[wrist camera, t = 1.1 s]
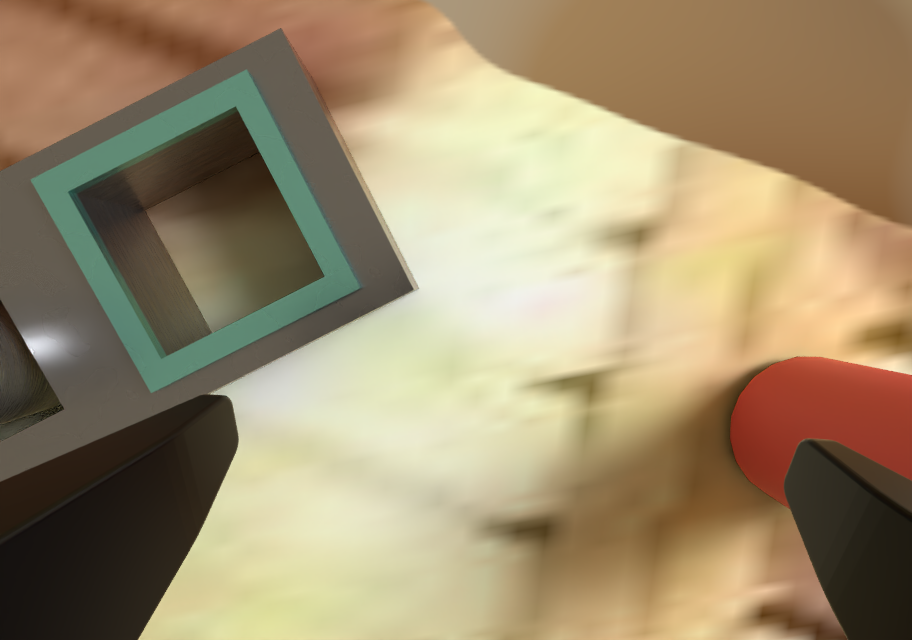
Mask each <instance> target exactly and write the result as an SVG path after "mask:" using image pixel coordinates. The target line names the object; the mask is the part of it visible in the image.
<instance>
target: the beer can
mask: <svg viewBox="0 0 912 640" xmlns="http://www.w3.org/2000/svg"><path fill="white" fill-rule="evenodd" d="M806 438H812V439H827V440H833V441H836V442H839V443H841V444H843V445H844V446H846V447H848V448H850V449H852V450H854V451H856V452H858V453H860V454H862V455H864V456H866V457H868V458H869V459H871V460H873V461H875V462H877V463H879V464H881V465H883V466H885V467H887V468H889V469H891V470H893V471H894V472H896V473H898V474H900V475H902V476H904V477H906V478H908V479H910V480H912V375H908V374H903V373H898V372H893V371H888V370H883V369H878V368H873V367H868V366H863V365H858V364H853V363H848V362H843V361H838V360H833V359H828V358H823V357H794V358H791V359H788V360H785V361H781V362H778V363H775V364H773V365H771V366H770V367H768V368H767V369H765V370H764V371H762V372H761V373H759V374H758V375H756V376H755V377H754V378H753V379H752V380H751V381H750V383H749V384H748V385H747V386H746V388H745V389H744V390H743V391H742V393H741V394H740V395H739V397H738V400H737V403H736V405H735V408H734V411H733V413H732V416H731V428H730V441H731V445H732V448H733V452H734V456H735V459H736V462H737V464H738V465H739V467H740V468H741V470H742V471H743V473H744V474H745V476H746V477H747V479H748V480H749V481H750V482H752V483H753V484H754V485H756V486H757V487H758V488H759V489H761V490H762V491H763V492H765V493H766V494H768V495H769V496H771V497H772V498H774V499H775V500H777V501H778V502H780V503H781V504H783V505H784V506H786V507H788V508H789V509H790V507H789V504H788V502H787V499H786V497H785V493H784V479H785V476H786V473H787V471H788V468H789V466H790V463H791V461H792V458H793V456H794V453H795V450H796V448H797V446H798V444H799V443H800V442H801V441H802V440H804V439H806Z"/></svg>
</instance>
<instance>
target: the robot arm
mask: <svg viewBox="0 0 912 640" xmlns="http://www.w3.org/2000/svg"><path fill="white" fill-rule="evenodd" d="M238 440H239V438H238V431H237V426H236V420H235V415H234V410H233V405H232V402H231V400H230V398H228V397H227V396H224V395H211V394H203V395H199V396H197V397H195V398H193V399H190V400H188V401H186V402H183V403H181V404H179V405H176V406H174V407H172V408H169V409H167V410H165V411H162V412H160V413H158V414H156V415H153V416H151V417H149V418H146V419H144V420H142V421H139V422H137V423H135V424H132V425H130V426H128V427H125V428H123V429H121V430H118V431H116V432H114V433H112V434H109V435H107V436H105V437H102V438H100V439H98V440H95V441H93V442H91V443H88V444H86V445H84V446H81V447H79V448H77V449H74V450H72V451H70V452H68V453H65V454H63V455H61V456H58V457H56V458H54V459H51V460H49V461H47V462H44V463H42V464H40V465H37V466H35V467H33V468H30V469H28V470H26V471H24V472H21V473H19V474H17V475H14V476H12V477H10V478H7V479H5V480H3V481H0V640H138V639H139V637H140V635H141V634H142V632H143V630H144V628H145V627H146V625H147V623H148V621H149V620H150V618H151V616H152V615H153V613H154V611H155V609H156V608H157V606H158V604H159V602H160V601H161V599H162V597H163V596H164V594H165V592H166V590H167V589H168V587H169V585H170V583H171V582H172V580H173V578H174V577H175V575H176V573H177V571H178V570H179V568H180V566H181V565H182V563H183V561H184V559H185V558H186V556H187V554H188V552H189V551H190V549H191V547H192V545H193V544H194V542H195V540H196V538H197V536H198V534H199V532H200V530H201V528H202V526H203V524H204V522H205V520H206V518H207V516H208V513H209V511H210V509H211V507H212V504H213V502H214V500H215V498H216V496H217V493H218V491H219V489H220V487H221V484H222V482H223V480H224V478H225V476H226V473H227V471H228V469H229V467H230V464H231V462H232V460H233V458H234V456H235V453H236V451H237V447H238ZM784 493H785V497H786V499H787V502H788V504H789V507H790V510H791V512H792V515H793V517H794V520H795V522H796V525H797V527H798V530H799V532H800V535H801V537H802V540H803V542H804V545H805V547H806V550H807V552H808V555H809V557H810V560H811V562H812V565H813V567H814V570H815V572H816V575H817V577H818V580H819V582H820V584H821V587H822V589H823V591H824V593H825V595H826V598H827V600H828V602H829V604H830V606H831V608H832V610H833V612H834V614H835V616H836V618H837V620H838V622H839V623H840V625H841V627H842V629H843V631H844V633H845V635H846V637H847V639H848V640H912V480H910V479H908V478H906V477H904V476H902V475H900V474H898V473H896V472H894V471H893V470H891V469H889V468H887V467H885V466H883V465H881V464H879V463H877V462H875V461H873V460H871V459H869V458H868V457H866V456H864V455H862V454H860V453H858V452H856V451H854V450H852V449H850V448H848V447H846V446H844V445H843V444H841V443H839V442H836V441H833V440H827V439H812V438H806V439H804V440H802V441H801V442H800V443H799V444H798V446H797V448H796V450H795V453H794V456H793V458H792V461H791V463H790V466H789V468H788V471H787V473H786V476H785V479H784Z"/></svg>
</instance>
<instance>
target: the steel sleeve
mask: <svg viewBox="0 0 912 640" xmlns="http://www.w3.org/2000/svg"><path fill="white" fill-rule="evenodd" d="M60 404H61V403H60V401H59V399H58V397H57V396H56V394H55V392H54V391H53V389H52V387H51V385H50V384H49V382H48V380H47V379H46V377H45V375H44V373H43V372H42V370H41V368H40V366H39V365H38V363H37V361H36V360H35V358H34V356H33V354H32V353H31V351H30V349H29V348H28V346H27V344H26V342H25V341H24V339H23V337H22V336H21V334H20V332H19V330H18V329H17V327H16V325H15V324H14V322H13V320H12V318H11V317H10V315H9V313H8V312H7V310H6V308H5V306H4V305H3V303H2V301H1V300H0V425H1V424H4V423H7V422H10V421H13V420H16V419H19V418H22V417H26V416H29V415H32V414H35V413H38V412H41V411H44V410H47V409H50V408H53V407H56V406H58V405H60Z"/></svg>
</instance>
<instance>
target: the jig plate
mask: <svg viewBox="0 0 912 640" xmlns="http://www.w3.org/2000/svg"><path fill="white" fill-rule="evenodd" d="M258 152H260V153H261V155H262V157H263V159H264V161H265V163H266V165H267V167H268V169H269V171H270V173H271V174H272V176H273V178H274V180H275V182H276V184H277V186H278V188H279V190H280V192H281V194H282V196H283V197H284V199H285V201H286V203H287V205H288V207H289V209H290V211H291V213H292V215H293V217H294V218H295V220H296V222H297V224H298V226H299V228H300V230H301V232H302V234H303V236H304V238H305V240H306V241H307V243H308V245H309V247H310V249H311V251H312V253H313V255H314V257H315V259H316V261H317V262H318V264H319V266H320V268H321V270H322V272H323V274H324V276H325V277H323V278H321V279H319V280H317V281H315V282H313V283H311V284H309V285H307V286H305V287H303V288H301V289H299V290H297V291H295V292H293V293H291V294H289V295H287V296H285V297H283V298H281V299H279V300H277V301H275V302H273V303H271V304H269V305H267V306H265V307H263V308H261V309H259V310H257V311H255V312H253V313H251V314H249V315H248V316H246V317H244V318H242V319H240V320H238V321H236V322H234V323H232V324H230V325H228V326H226V327H224V328H222V329H220V330H218V331H216V332H214V333H212V332H211V331H210V329H209V327H208V325H207V323H206V321H205V320H204V318H203V316H202V314H201V312H200V311H199V309H198V307H197V305H196V303H195V301H194V300H193V298H192V296H191V294H190V292H189V290H188V289H187V287H186V285H185V283H184V281H183V279H182V278H181V276H180V274H179V272H178V270H177V269H176V267H175V265H174V263H173V261H172V259H171V258H170V256H169V254H168V252H167V250H166V248H165V247H164V245H163V243H162V241H161V239H160V238H159V236H158V234H157V232H156V230H155V228H154V227H153V225H152V223H151V221H150V219H149V217H148V216H147V214H146V212H145V210H146V209H148V208H150V207H152V206H154V205H156V204H158V203H160V202H162V201H164V200H166V199H168V198H170V197H172V196H174V195H176V194H178V193H180V192H182V191H183V190H185V189H187V188H189V187H191V186H193V185H195V184H197V183H199V182H201V181H203V180H205V179H207V178H209V177H211V176H213V175H215V174H217V173H219V172H221V171H223V170H225V169H227V168H229V167H231V166H233V165H235V164H237V163H239V162H241V161H243V160H245V159H247V158H248V157H250V156H252V155H254V154H256V153H258ZM417 289H419V287H418V285H417V283H416V281H415V279H414V278H413V276H412V274H411V272H410V270H409V268H408V266H407V264H406V262H405V260H404V258H403V256H402V254H401V252H400V250H399V248H398V246H397V244H396V242H395V240H394V238H393V236H392V234H391V232H390V230H389V228H388V226H387V224H386V222H385V220H384V218H383V216H382V214H381V212H380V210H379V208H378V207H377V205H376V203H375V201H374V199H373V197H372V195H371V193H370V191H369V189H368V187H367V185H366V183H365V181H364V179H363V177H362V175H361V173H360V171H359V169H358V167H357V165H356V163H355V161H354V159H353V157H352V155H351V153H350V151H349V149H348V147H347V145H346V143H345V141H344V139H343V137H342V135H341V134H340V132H339V130H338V128H337V126H336V124H335V122H334V120H333V118H332V116H331V114H330V112H329V110H328V108H327V106H326V104H325V102H324V100H323V98H322V96H321V94H320V92H319V90H318V88H317V86H316V84H315V82H314V80H313V78H312V76H311V75H310V73H309V72H308V70H307V68H306V67H305V65H304V64H303V62H302V60H301V59H300V57H299V56H298V54H297V53H296V51H295V49H294V48H293V46H292V45H291V43H290V42H289V40H288V38H287V37H286V35H285V34H284V32H283V30H282V29H281V28H280V29H278V30H276V31H274V32H272V33H271V34H269V35H267V36H265V37H263V38H261V39H259V40H257V41H255V42H253V43H251V44H249V45H247V46H245V47H243V48H241V49H239V50H237V51H235V52H233V53H231V54H229V55H227V56H225V57H223V58H221V59H220V60H218V61H216V62H214V63H212V64H210V65H208V66H206V67H204V68H202V69H200V70H198V71H196V72H194V73H192V74H190V75H188V76H186V77H184V78H182V79H180V80H178V81H176V82H174V83H172V84H170V85H169V86H167V87H165V88H163V89H161V90H159V91H157V92H155V93H153V94H151V95H149V96H147V97H145V98H143V99H141V100H139V101H137V102H135V103H133V104H131V105H129V106H127V107H125V108H123V109H121V110H119V111H118V112H116V113H114V114H112V115H110V116H108V117H106V118H104V119H102V120H100V121H98V122H96V123H94V124H92V125H90V126H88V127H86V128H84V129H82V130H80V131H78V132H76V133H74V134H72V135H70V136H68V137H67V138H65V139H63V140H61V141H59V142H57V143H55V144H53V145H51V146H49V147H47V148H45V149H43V150H41V151H39V152H37V153H35V154H33V155H31V156H29V157H27V158H25V159H23V160H21V161H19V162H18V163H16V164H14V165H12V166H10V167H8V168H6V169H4V170H2V171H0V300H1V301H2V303H3V305H4V306H5V308H6V310H7V312H8V313H9V315H10V317H11V318H12V320H13V322H14V324H15V325H16V327H17V329H18V330H19V332H20V334H21V336H22V337H23V339H24V341H25V342H26V344H27V346H28V348H29V349H30V351H31V353H32V354H33V356H34V358H35V360H36V361H37V363H38V365H39V366H40V368H41V370H42V372H43V373H44V375H45V377H46V379H47V380H48V382H49V384H50V385H51V387H52V389H53V391H54V392H55V394H56V396H57V397H58V399H59V401H60V403H61V404H62V406H63V408H64V410H62V411H60V412H58V413H56V414H54V415H52V416H50V417H48V418H46V419H44V420H42V421H40V422H38V423H36V424H34V425H32V426H30V427H28V428H26V429H24V430H22V431H20V432H18V433H16V434H14V435H12V436H11V437H9V438H7V439H5V440H3V441H1V442H0V481H3V480H5V479H7V478H10V477H12V476H14V475H17V474H19V473H21V472H24V471H26V470H28V469H30V468H33V467H35V466H37V465H40V464H42V463H44V462H47V461H49V460H51V459H54V458H56V457H58V456H61V455H63V454H65V453H68V452H70V451H72V450H74V449H77V448H79V447H81V446H84V445H86V444H88V443H91V442H93V441H95V440H98V439H100V438H102V437H105V436H107V435H109V434H112V433H114V432H116V431H118V430H121V429H123V428H125V427H128V426H130V425H132V424H135V423H137V422H139V421H142V420H144V419H146V418H149V417H151V416H153V415H156V414H158V413H160V412H162V411H165V410H167V409H169V408H172V407H174V406H176V405H179V404H181V403H183V402H186V401H188V400H190V399H193V398H195V397H197V396H199V395H203V394H210V393H212V392H214V391H216V390H218V389H220V388H222V387H224V386H226V385H228V384H230V383H232V382H234V381H236V380H238V379H240V378H242V377H244V376H246V375H248V374H250V373H252V372H254V371H256V370H258V369H260V368H262V367H264V366H266V365H268V364H270V363H272V362H274V361H276V360H278V359H280V358H282V357H284V356H286V355H288V354H290V353H292V352H294V351H296V350H298V349H300V348H302V347H304V346H306V345H308V344H310V343H312V342H314V341H316V340H318V339H320V338H322V337H324V336H326V335H328V334H330V333H332V332H334V331H336V330H338V329H340V328H342V327H344V326H346V325H348V324H350V323H352V322H353V321H355V320H357V319H359V318H361V317H363V316H365V315H367V314H369V313H371V312H373V311H375V310H377V309H379V308H381V307H383V306H385V305H387V304H389V303H391V302H393V301H395V300H397V299H399V298H401V297H403V296H405V295H407V294H409V293H411V292H413V291H415V290H417Z"/></svg>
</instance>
